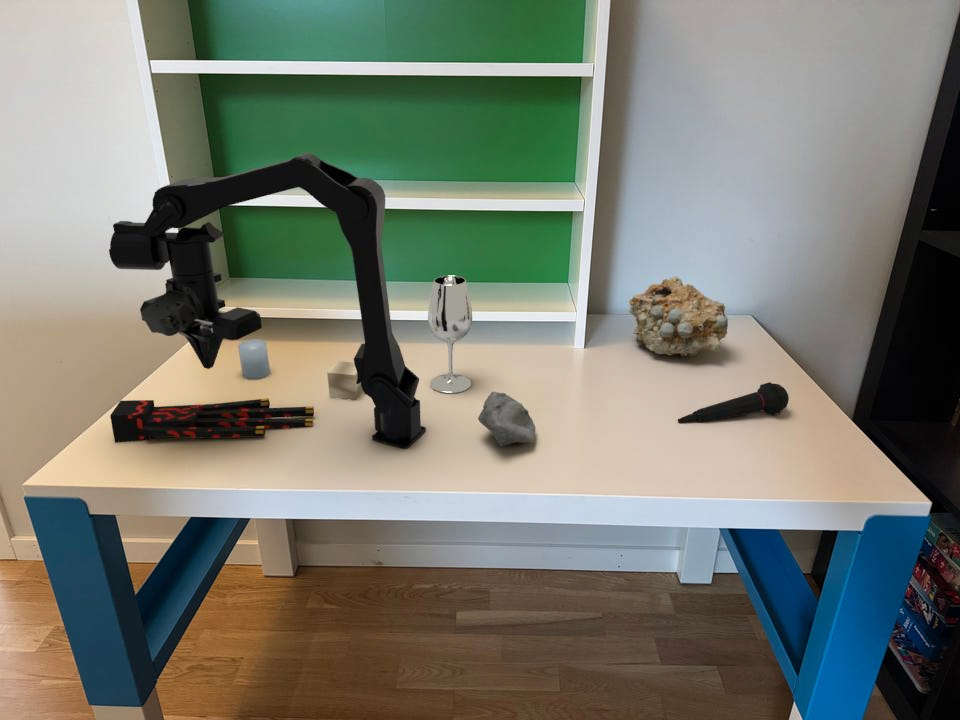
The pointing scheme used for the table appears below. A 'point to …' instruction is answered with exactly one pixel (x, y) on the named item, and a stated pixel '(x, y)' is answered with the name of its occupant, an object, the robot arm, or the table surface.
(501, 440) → the grey stone
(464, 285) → the wineglass
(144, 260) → the robot arm
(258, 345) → the grey cylinder
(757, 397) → the microphone
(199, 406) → the toy
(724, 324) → the rock
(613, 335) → the table surface
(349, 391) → the beech cube
